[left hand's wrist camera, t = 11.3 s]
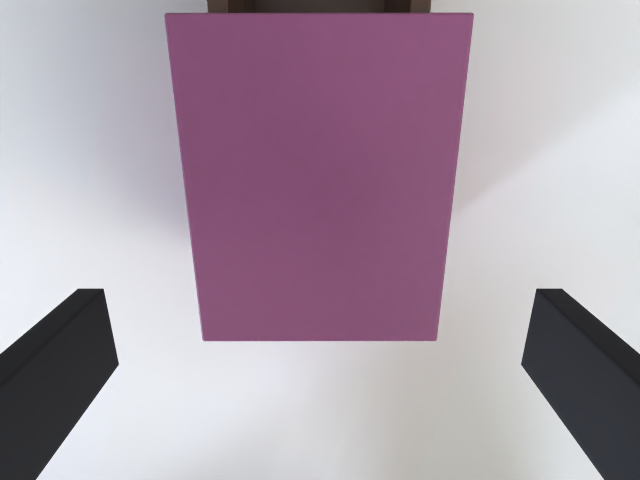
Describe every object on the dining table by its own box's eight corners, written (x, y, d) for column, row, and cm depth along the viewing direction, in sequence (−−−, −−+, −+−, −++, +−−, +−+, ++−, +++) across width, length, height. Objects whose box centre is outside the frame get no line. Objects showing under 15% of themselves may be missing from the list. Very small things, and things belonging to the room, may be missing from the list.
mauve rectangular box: (224, 40, 25) (162, 12, 15) (413, 40, 25) (475, 12, 15) (240, 257, 29) (201, 342, 20) (398, 257, 29) (437, 341, 20)
